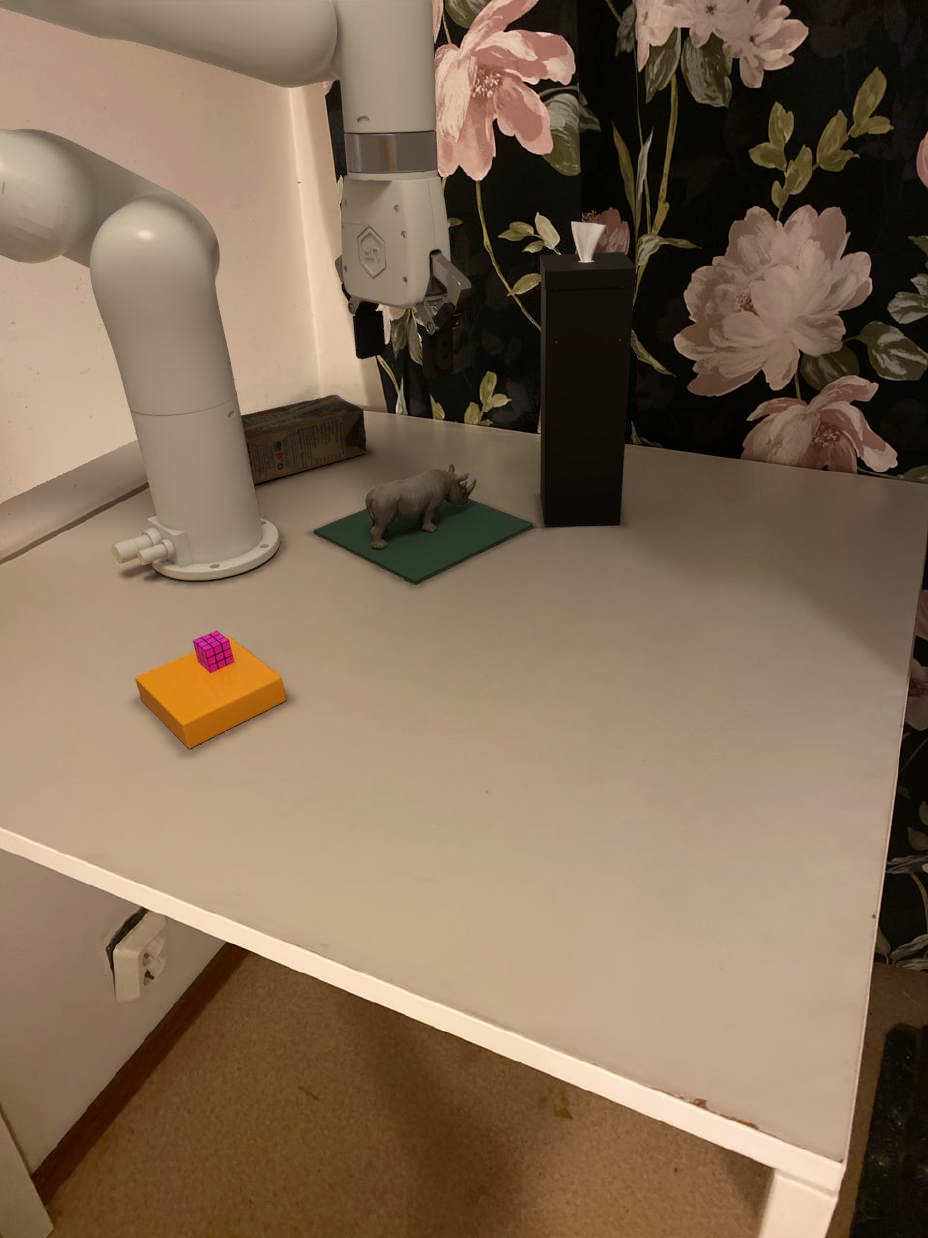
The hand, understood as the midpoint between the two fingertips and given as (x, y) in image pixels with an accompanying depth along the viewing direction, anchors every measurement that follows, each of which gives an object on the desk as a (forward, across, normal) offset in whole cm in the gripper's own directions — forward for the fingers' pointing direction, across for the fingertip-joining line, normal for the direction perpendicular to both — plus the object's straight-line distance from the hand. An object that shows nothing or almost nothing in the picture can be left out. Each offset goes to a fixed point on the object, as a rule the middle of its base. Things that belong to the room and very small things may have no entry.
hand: (403, 365), depth 80 cm
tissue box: (+17, +10, +15) cm, 24 cm away
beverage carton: (+17, -25, +1) cm, 31 cm away
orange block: (+17, +11, -29) cm, 36 cm away
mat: (+17, +1, +1) cm, 17 cm away
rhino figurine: (+17, +1, +1) cm, 17 cm away
